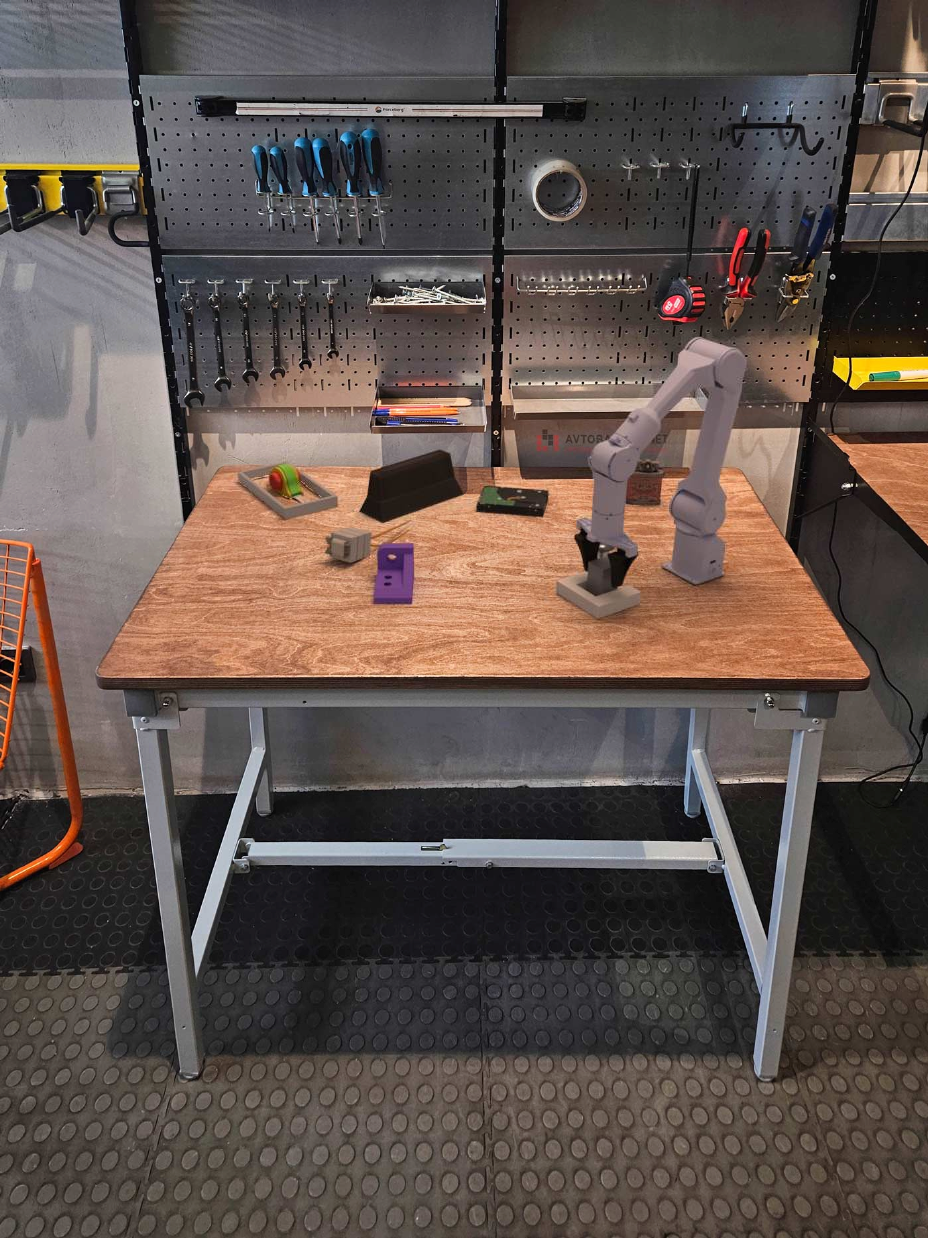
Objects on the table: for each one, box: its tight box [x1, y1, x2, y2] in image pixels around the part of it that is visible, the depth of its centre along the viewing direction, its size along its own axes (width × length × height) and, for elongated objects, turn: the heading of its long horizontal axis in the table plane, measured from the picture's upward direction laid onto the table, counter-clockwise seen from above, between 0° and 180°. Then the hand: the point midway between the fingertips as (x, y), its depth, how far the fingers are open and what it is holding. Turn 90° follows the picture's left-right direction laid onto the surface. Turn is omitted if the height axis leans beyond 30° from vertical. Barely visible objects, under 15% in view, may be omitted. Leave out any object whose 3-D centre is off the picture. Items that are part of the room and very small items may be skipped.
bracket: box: [373, 542, 415, 605], centre depth 189 cm, size 12×7×7 cm, turn 1°
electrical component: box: [324, 519, 416, 564], centre depth 207 cm, size 24×6×5 cm, turn 150°
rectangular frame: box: [237, 460, 339, 520], centre depth 230 cm, size 26×13×2 cm, turn 34°
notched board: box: [555, 570, 642, 620], centre depth 187 cm, size 12×10×2 cm
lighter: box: [625, 458, 665, 507], centre depth 224 cm, size 8×3×10 cm, turn 84°
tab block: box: [586, 557, 619, 596], centre depth 186 cm, size 4×4×7 cm
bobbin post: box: [597, 543, 616, 559], centre depth 195 cm, size 5×5×6 cm
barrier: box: [358, 449, 465, 524], centre depth 224 cm, size 24×9×10 cm, turn 132°
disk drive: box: [475, 485, 550, 518], centre depth 224 cm, size 10×3×15 cm
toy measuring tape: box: [268, 464, 311, 503], centre depth 227 cm, size 6×19×7 cm, turn 41°
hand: (603, 577), depth 186 cm, fingers open, 7 cm apart
